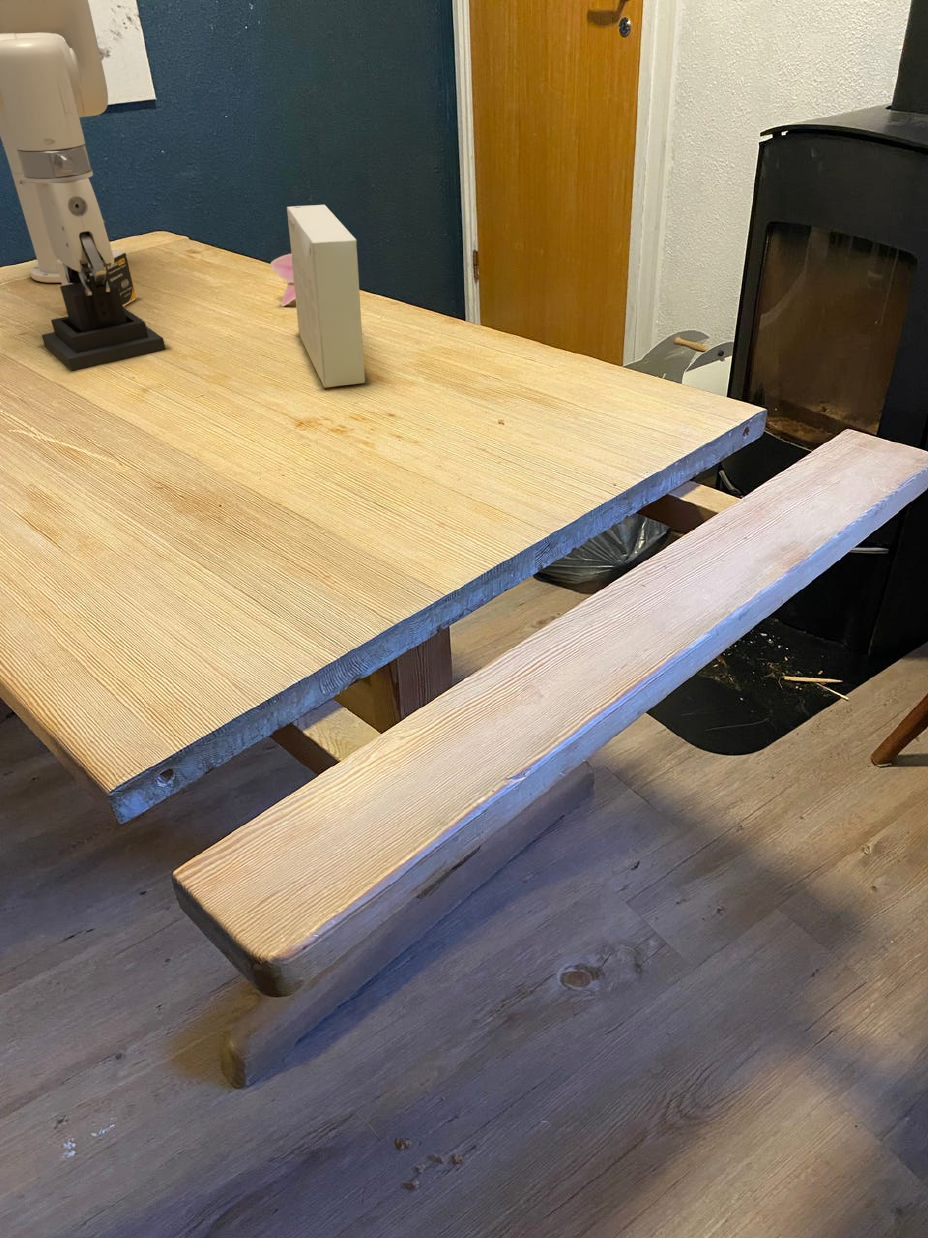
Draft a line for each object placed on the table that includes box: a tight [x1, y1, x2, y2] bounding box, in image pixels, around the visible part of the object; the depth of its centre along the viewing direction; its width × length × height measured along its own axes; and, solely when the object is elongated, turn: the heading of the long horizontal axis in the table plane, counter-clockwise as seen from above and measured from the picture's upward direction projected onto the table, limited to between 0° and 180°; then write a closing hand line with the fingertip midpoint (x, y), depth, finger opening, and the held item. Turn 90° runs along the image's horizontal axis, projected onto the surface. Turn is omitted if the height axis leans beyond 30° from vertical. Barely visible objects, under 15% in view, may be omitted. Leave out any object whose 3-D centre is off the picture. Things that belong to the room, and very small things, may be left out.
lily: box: [269, 253, 296, 307], centre depth 129 cm, size 12×12×10 cm
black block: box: [59, 280, 127, 332], centre depth 115 cm, size 6×6×4 cm
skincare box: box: [286, 204, 366, 388], centre depth 107 cm, size 21×5×16 cm, turn 17°
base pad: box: [41, 307, 166, 372], centre depth 117 cm, size 12×12×4 cm
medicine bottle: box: [56, 219, 137, 308], centre depth 130 cm, size 7×7×12 cm
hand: (96, 318), depth 116 cm, fingers closed on black block, 5 cm apart
